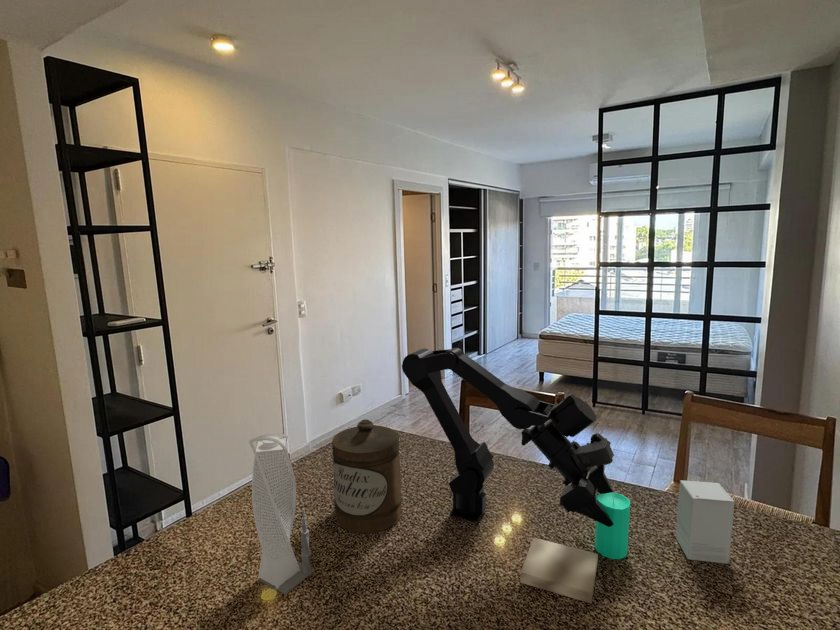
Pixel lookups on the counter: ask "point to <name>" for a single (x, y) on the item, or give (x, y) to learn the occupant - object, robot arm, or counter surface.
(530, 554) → the beige square slab
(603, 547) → the candle
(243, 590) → the counter surface
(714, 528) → the supplement box
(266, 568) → the skyscraper
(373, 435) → the wooden container
